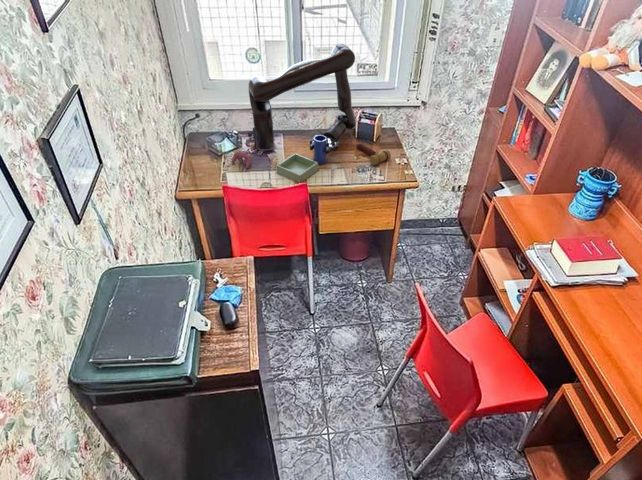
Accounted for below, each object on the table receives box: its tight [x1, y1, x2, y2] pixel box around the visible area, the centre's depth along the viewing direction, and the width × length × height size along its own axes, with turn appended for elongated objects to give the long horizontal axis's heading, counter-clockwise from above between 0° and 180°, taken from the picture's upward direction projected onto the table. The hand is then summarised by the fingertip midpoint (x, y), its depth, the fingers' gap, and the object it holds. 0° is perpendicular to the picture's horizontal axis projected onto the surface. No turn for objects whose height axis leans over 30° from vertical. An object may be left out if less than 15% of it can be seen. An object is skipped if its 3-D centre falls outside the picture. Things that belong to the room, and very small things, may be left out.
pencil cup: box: [313, 134, 328, 165], centre depth 224 cm, size 6×6×12 cm
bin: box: [275, 152, 319, 184], centre depth 220 cm, size 14×14×4 cm
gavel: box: [355, 143, 392, 166], centre depth 233 cm, size 21×5×10 cm
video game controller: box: [231, 150, 254, 169], centre depth 223 cm, size 10×5×7 cm, turn 65°
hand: (318, 150), depth 222 cm, fingers open, 7 cm apart
